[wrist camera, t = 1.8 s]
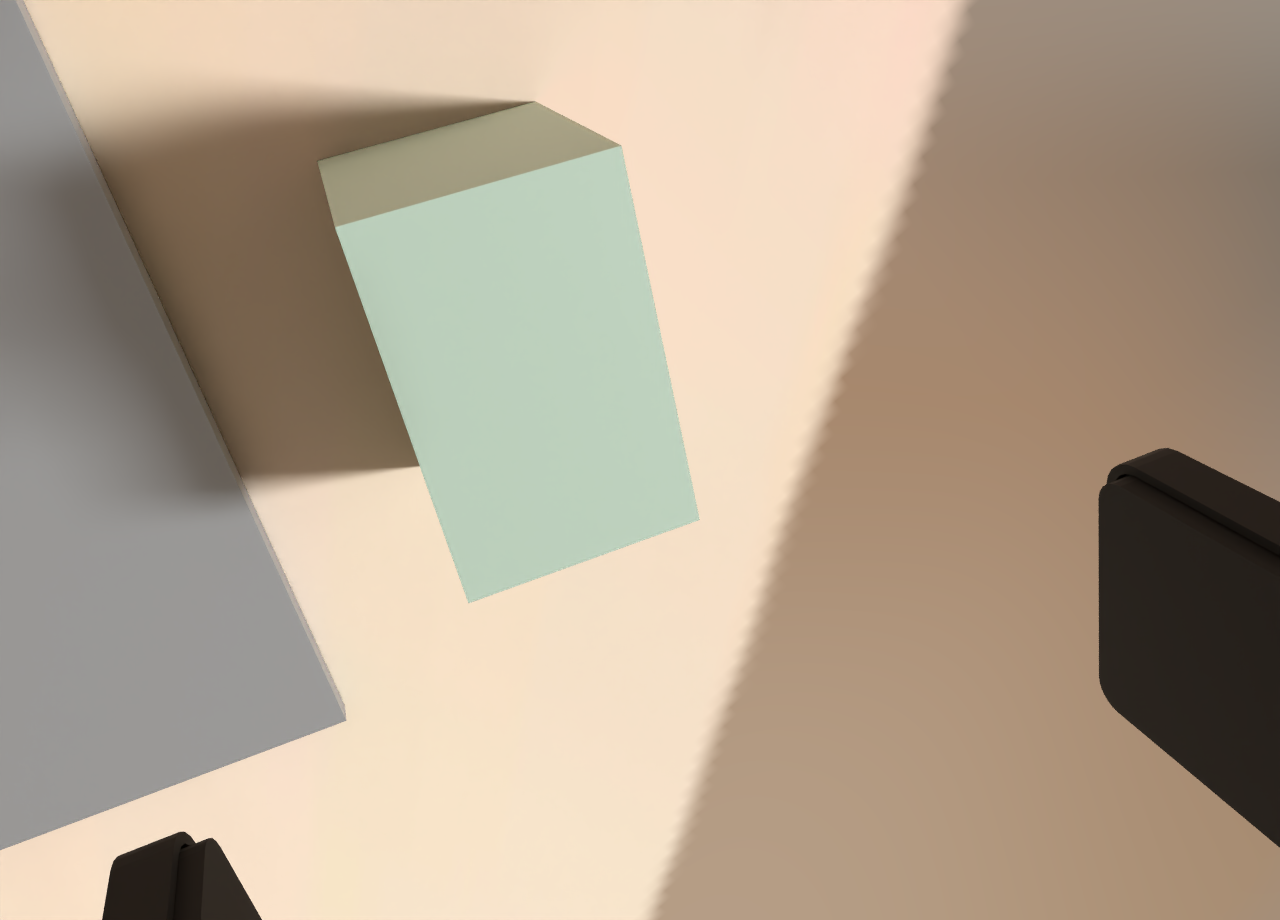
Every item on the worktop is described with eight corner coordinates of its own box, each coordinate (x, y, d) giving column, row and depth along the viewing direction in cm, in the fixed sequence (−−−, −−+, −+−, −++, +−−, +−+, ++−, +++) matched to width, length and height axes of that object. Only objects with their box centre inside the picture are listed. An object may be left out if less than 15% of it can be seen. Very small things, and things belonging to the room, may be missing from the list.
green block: (534, 101, 21) (621, 145, 16) (608, 403, 25) (699, 519, 19) (317, 160, 20) (334, 227, 15) (424, 464, 24) (468, 602, 19)
